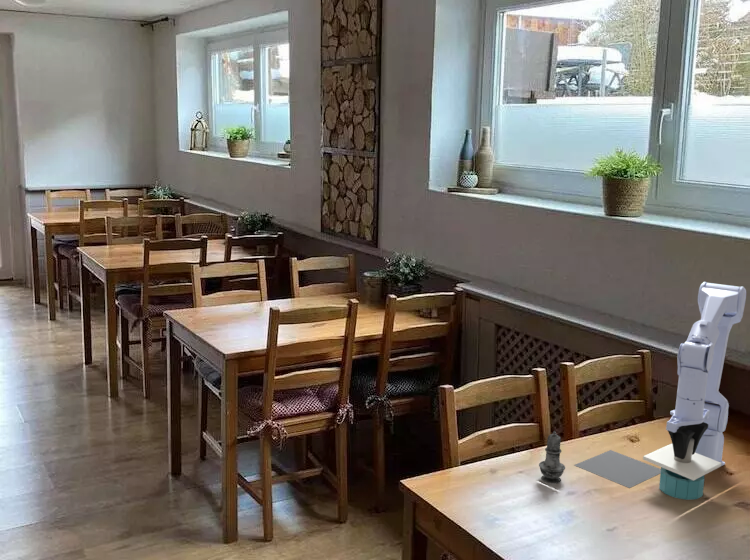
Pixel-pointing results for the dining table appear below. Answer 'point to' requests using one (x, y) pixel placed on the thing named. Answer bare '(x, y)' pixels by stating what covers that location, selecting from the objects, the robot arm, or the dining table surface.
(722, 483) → the dining table surface
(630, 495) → the dining table surface
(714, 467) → the lid
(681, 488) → the bowl
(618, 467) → the mat
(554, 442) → the dark grey turned figure
